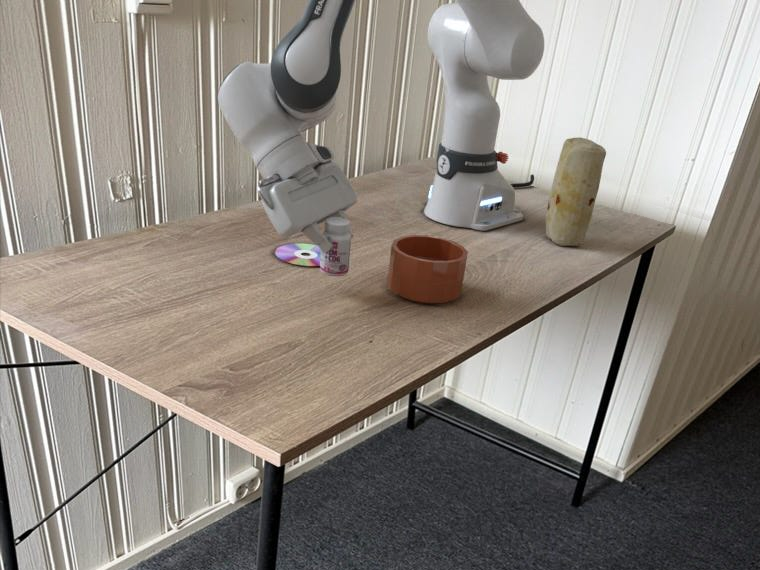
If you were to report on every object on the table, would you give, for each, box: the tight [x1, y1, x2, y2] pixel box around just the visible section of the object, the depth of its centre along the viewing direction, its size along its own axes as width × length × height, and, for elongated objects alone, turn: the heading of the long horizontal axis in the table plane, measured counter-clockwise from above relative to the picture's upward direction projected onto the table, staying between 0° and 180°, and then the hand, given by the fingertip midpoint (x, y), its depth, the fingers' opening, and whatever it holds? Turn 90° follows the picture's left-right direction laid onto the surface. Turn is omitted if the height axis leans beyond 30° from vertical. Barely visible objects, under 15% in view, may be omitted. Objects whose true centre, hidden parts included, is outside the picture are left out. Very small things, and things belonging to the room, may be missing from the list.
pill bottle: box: [319, 217, 352, 277], centre depth 134 cm, size 5×5×8 cm
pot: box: [386, 234, 469, 304], centre depth 141 cm, size 13×13×8 cm
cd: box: [274, 242, 321, 267], centre depth 151 cm, size 11×11×1 cm
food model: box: [545, 137, 607, 247], centre depth 167 cm, size 10×7×20 cm
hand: (339, 245), depth 134 cm, fingers closed on pill bottle, 5 cm apart
